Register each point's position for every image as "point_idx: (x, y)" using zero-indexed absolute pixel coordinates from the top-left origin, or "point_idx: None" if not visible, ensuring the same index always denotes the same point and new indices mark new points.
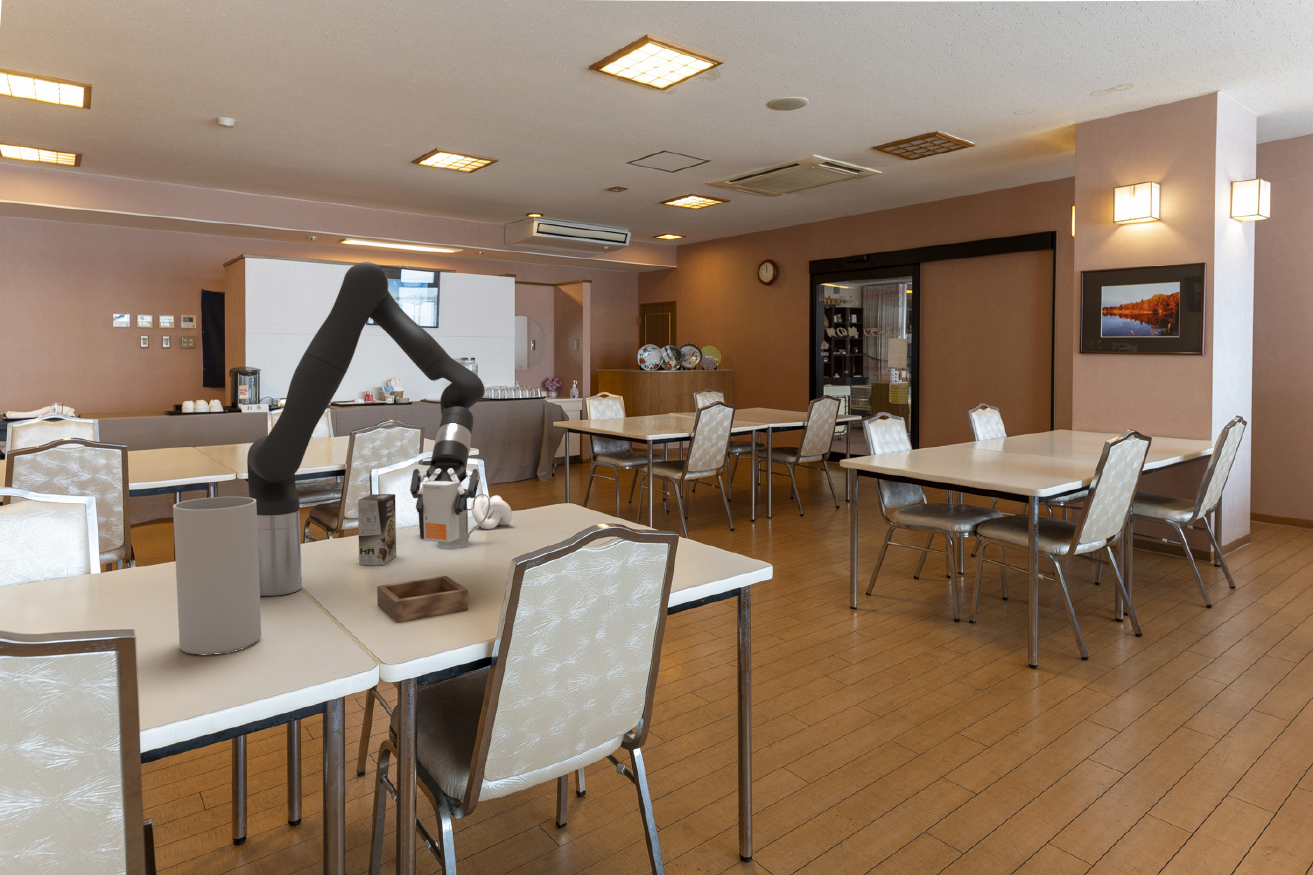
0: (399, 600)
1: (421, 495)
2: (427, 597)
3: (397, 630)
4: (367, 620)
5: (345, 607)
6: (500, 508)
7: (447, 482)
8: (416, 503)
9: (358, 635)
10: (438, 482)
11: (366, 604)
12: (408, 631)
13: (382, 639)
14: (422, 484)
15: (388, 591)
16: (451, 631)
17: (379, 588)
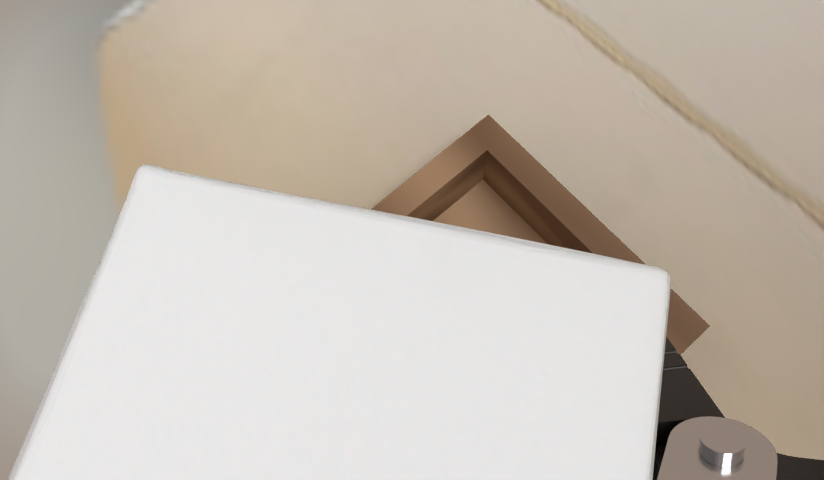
0: (481, 135)
1: (673, 410)
2: (380, 204)
3: (437, 82)
4: (605, 160)
5: (801, 297)
6: None
7: (189, 435)
8: (681, 359)
9: (548, 21)
10: (394, 434)
11: (735, 352)
12: (393, 79)
13: (448, 2)
14: (664, 273)
15: (600, 248)
16: (238, 101)
17: (676, 295)
